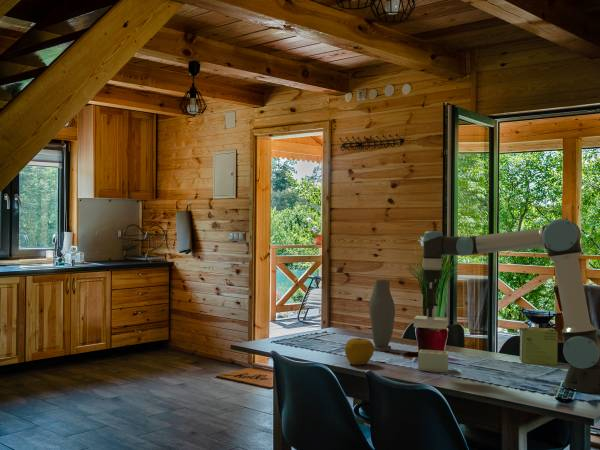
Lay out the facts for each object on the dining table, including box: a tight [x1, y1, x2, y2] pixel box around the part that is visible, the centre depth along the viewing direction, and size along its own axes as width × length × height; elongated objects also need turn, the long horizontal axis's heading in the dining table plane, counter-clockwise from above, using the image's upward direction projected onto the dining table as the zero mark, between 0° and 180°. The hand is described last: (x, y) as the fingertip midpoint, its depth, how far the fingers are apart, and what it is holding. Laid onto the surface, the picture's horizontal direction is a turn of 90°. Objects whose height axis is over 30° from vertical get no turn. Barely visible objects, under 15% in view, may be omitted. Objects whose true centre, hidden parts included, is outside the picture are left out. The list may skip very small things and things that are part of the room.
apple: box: [344, 337, 375, 366], centre depth 281 cm, size 13×13×11 cm
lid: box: [413, 315, 449, 330], centre depth 259 cm, size 13×10×4 cm
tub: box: [417, 349, 449, 373], centre depth 273 cm, size 12×8×8 cm, turn 74°
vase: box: [368, 279, 396, 352], centre depth 323 cm, size 13×13×35 cm
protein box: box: [519, 326, 559, 366], centre depth 297 cm, size 10×15×16 cm
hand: (431, 323), depth 259 cm, fingers closed on lid, 10 cm apart
